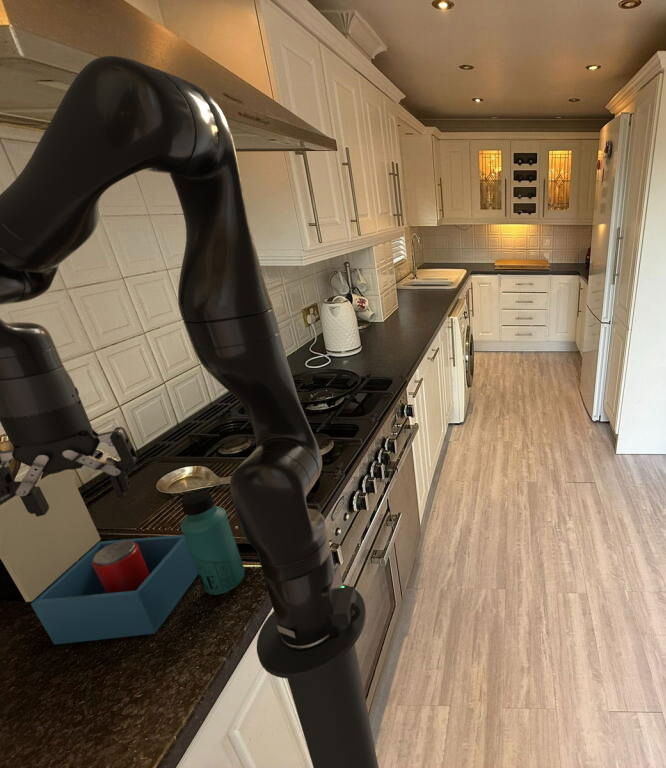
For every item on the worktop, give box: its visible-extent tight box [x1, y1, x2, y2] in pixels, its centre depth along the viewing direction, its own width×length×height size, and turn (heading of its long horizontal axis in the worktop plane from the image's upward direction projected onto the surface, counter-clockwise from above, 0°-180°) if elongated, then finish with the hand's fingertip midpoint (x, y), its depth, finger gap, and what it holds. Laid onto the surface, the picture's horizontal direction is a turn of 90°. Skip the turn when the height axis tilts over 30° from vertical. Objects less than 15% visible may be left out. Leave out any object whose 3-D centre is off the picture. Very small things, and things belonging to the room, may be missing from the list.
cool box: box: [30, 534, 199, 645], centre depth 69 cm, size 14×13×9 cm
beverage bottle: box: [180, 490, 246, 596], centre depth 70 cm, size 6×7×20 cm
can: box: [92, 539, 150, 593], centre depth 68 cm, size 6×6×11 cm
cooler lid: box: [0, 470, 102, 603], centre depth 63 cm, size 15×13×6 cm
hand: (84, 502), depth 60 cm, fingers open, 8 cm apart
